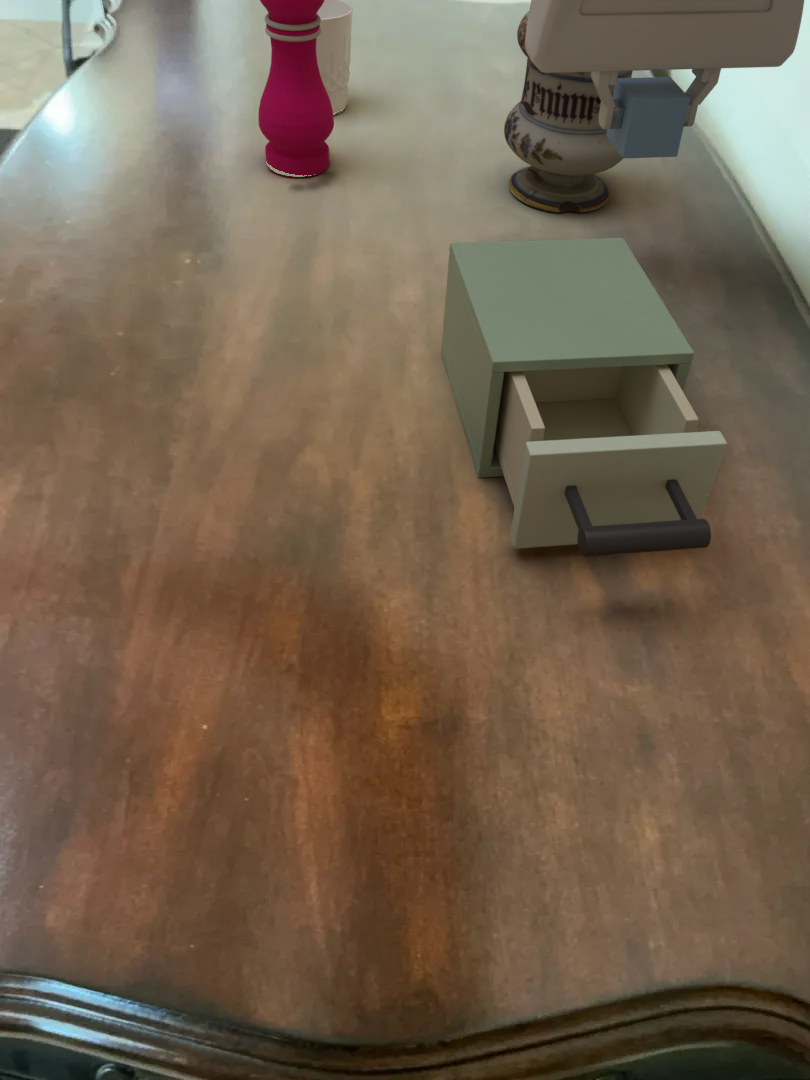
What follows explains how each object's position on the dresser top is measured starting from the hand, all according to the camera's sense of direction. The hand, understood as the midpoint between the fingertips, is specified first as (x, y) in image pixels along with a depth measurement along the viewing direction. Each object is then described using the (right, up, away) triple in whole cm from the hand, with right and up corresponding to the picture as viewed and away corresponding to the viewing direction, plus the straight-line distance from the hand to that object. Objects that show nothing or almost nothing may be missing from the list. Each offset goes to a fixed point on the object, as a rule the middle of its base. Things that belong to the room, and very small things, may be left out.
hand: (644, 125), depth 77 cm
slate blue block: (0, -1, +1) cm, 2 cm away
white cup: (-29, +15, +31) cm, 45 cm away
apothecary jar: (-4, +1, +18) cm, 19 cm away
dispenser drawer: (-7, -30, -15) cm, 34 cm away
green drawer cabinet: (-9, -23, -7) cm, 26 cm away
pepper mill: (-30, +4, +20) cm, 36 cm away
